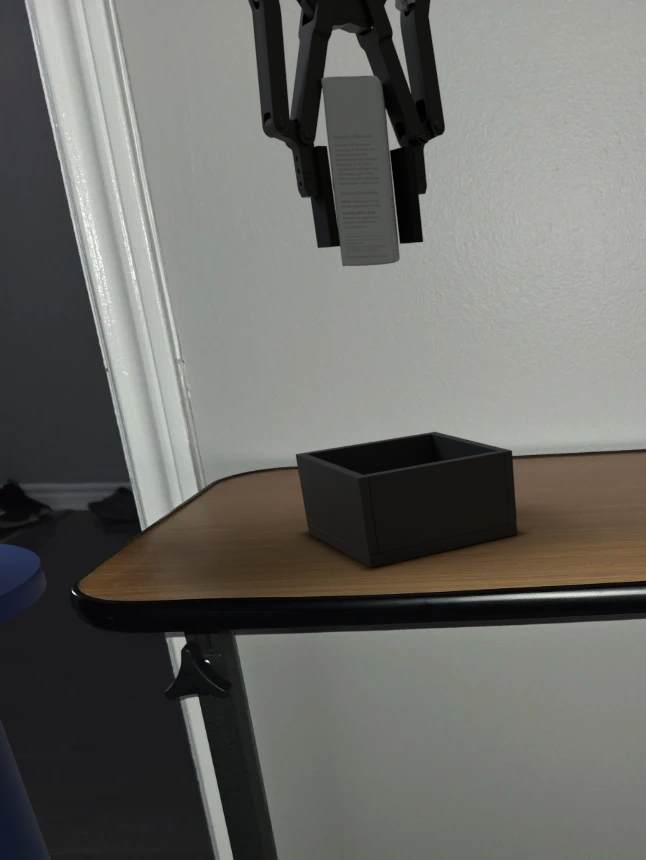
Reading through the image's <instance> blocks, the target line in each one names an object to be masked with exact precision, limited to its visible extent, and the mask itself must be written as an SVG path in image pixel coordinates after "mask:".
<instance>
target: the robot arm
mask: <svg viewBox="0 0 646 860" xmlns="http://www.w3.org/2000/svg"><path fill="white" fill-rule="evenodd" d="M247 1H248V4H249V7H250V9H251V16H252V29H253V37H254V38H253V39H254V50H255V59H256V71H257V84H258V94H259V104H260V116H261V127H262V130H263V133H264V135H265V136H267V138H271V139H276V140H278V141H281V142H283V143H284V144H285V146H286V148H288V149H289V150H290V151H291V153H292V159H293V160H292V161H293V165H294V171H295V179H296V186H297V191H298V193H299V195H300V198H302V199H307V198H309V199H310V204H311V211H312V217H313V218H312V219H313V225H314V232H315V239H316V246H317V249H324V248H326V249H327V248H337V247H340V240H339V232H338V224H337V216H336V207H335V198H334V190H333V183H332V173H331V164H330V157H329V149H328V146H327V145H315V141H316V137H317V131H318V130H317V129H318V123H319V116H320V115H319V114H320V107H321V100H322V94H323V90H322V82H321V79H322V78H325V70H326V63H327V54H328V47H329V41H330V39H331V37H332V34H333V31H336V30H341V31H344V32H346V33H349V34H354V35H355V37H356V39H357V42H358V46H359V47H360V48H361V49H362V50H363V51H364V54H365V55H366V58H367V61H368V64H369V67H370V70H371V72H372V76H377V77H378V79H379V80H381V82H382V83H381V85H382V87H383V93H384V100H385V108H386V114H387V116H388V119H389V121H390V125H391V127H392V130H393V133H394V136H395V138H396V141H397V143H398V145H399V147H397V148H393V149H389V152H390V162H391V172H392V182H393V193H394V203H395V213H396V223H397V233H398V242H399V245H403V244H416V243H417V244H418V243H424V234H423V224H422V216H421V215H422V213H421V204H420V195H421V196H422V195H426V193H427V189H428V183H427V181H428V180H427V172H426V171H427V170H426V160H425V146H426V145H427V144H428V143H429V142H430V141H431V140H433V139H435V138H437V137H440V136H442V135H443V134H445V131H446V124H445V118H444V116H445V115H444V109H443V104H442V96H441V91H440V90H441V89H440V84H439V83H440V82H439V75H438V69H437V64H436V63H437V62H436V56H435V50H434V42H433V35H432V31H431V30H432V28H431V22H430V21H431V20H430V6H431V0H394V8H395V9H396V10H397V11H398V12H399V25H400V26H399V27H400V33H401V40H402V46H403V52H404V58H405V64H406V65H405V66H406V70H407V71H406V72H407V77H408V81H407V78H406V75H405V72H404V69H403V66H402V64H401V60H400V58H399V55H398V52H397V49H396V45H395V44H394V40H393V35H394V33H393V31H394V30H393V28H392V24H391V21H390V19H389V16H388V15H389V14H388V12H387V11H386V10H387V9H386V7H385V6H386V3H387V1H388V0H295V1H296V3H297V4H298V5H299V7H300V8H301V9H300V16H299V25H298V33H297V34H298V35H297V37H298V41H299V44H298V52H297V60H296V67H295V76H294V84H293V91H292V99H291V106H289V105H290V104H289V91H288V79H287V78H288V77H287V67H286V54H285V41H284V30H283V29H284V28H283V17H282V16H283V15H282V8H281V3H280V0H247ZM408 83H409V84H408Z"/></svg>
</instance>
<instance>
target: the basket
mask: <svg viewBox="0 0 646 860" xmlns="http://www.w3.org/2000/svg"><path fill="white" fill-rule="evenodd" d="M295 460H296V466H297V471H298V472H297V473H298V478H299V483H300V490H301V495H302V500H303V501H302V502H303V506H304V507H303V508H304V512H305V519H306V523H307V531H308V534H309V535H310V536H312V537H314V538H316V539H318V540H320V541H321V542H323V543H325V544H327V545H328V546H331V547H332V548H334V549H336V550H338V551H340V552H342V553H344V554H345V555H347V556H349V557H351V558H352V559H354V560H356V561H358V562H360V563H361V564H363V565H365V566H367V567H369V568H371V569H373V568H377V567H381V566H387V565H390V564H395V563H398V562H403V561H408V560H412V559H416V558H421V557H425V556H429V555H434V554H438V553H442V552H446V551H451V550H456V549H460V548H464V547H468V546H472V545H477V544H481V543H486V542H489V541H494V540H499V539H502V538H503V539H504V538H507V537H511V536H516V535H518V518H517V507H516V506H517V505H516V503H517V502H516V490H515V489H516V488H515V475H514V474H515V473H514V457H513V450H511V449H507V448H503V447H499V446H494V445H491V444H487V443H483V442H479V441H474V440H470V439H467V438H463V437H460V436H454V435H450V434H446V433H442V432H439V431H430V432H425V433H418V434H412V435H411V434H410V435H404V436H400V437H394V438H386V439H380V440H375V441H368V442H363V443H357V444H350V445H344V446H338V447H332V448H331V447H329V448H325V449H319V450H313V451H305V452H301V453H295Z"/></svg>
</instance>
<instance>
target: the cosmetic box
mask: <svg viewBox="0 0 646 860" xmlns="http://www.w3.org/2000/svg"><path fill="white" fill-rule="evenodd" d="M321 82H322V97H323V105H324V106H323V107H324V116H325V128H326V136H327V145H328V146H327V148H328V156H329V165H330V173H331V180H332V188H333V195H334V203H335V210H336V217H337V225H338V232H339V240H340V246H339V248H340V249H339V250H340V257H341V259H340V260H341V265H342V267H367V266H368V267H369V266H381V265H390V264H394V263H397V262H399V261H400V259H401V258H400V243H399V233H398V222H397V213H396V204H395V195H394V186H393V176H392V167H391V158H390V142H389V141H390V140H389V132H388V122H387V121H388V120H387V119H388V118H387V111H386V108H385V100H384V93H383V87H382V85H381V83H382V82H381V80H379V79H378V77H377V76H374V75H352V76H351V75H350V76H349V75H348V76H347V75H345V76H339V75H338V76H327V77H325V76H324V78H322V79H321Z"/></svg>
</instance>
